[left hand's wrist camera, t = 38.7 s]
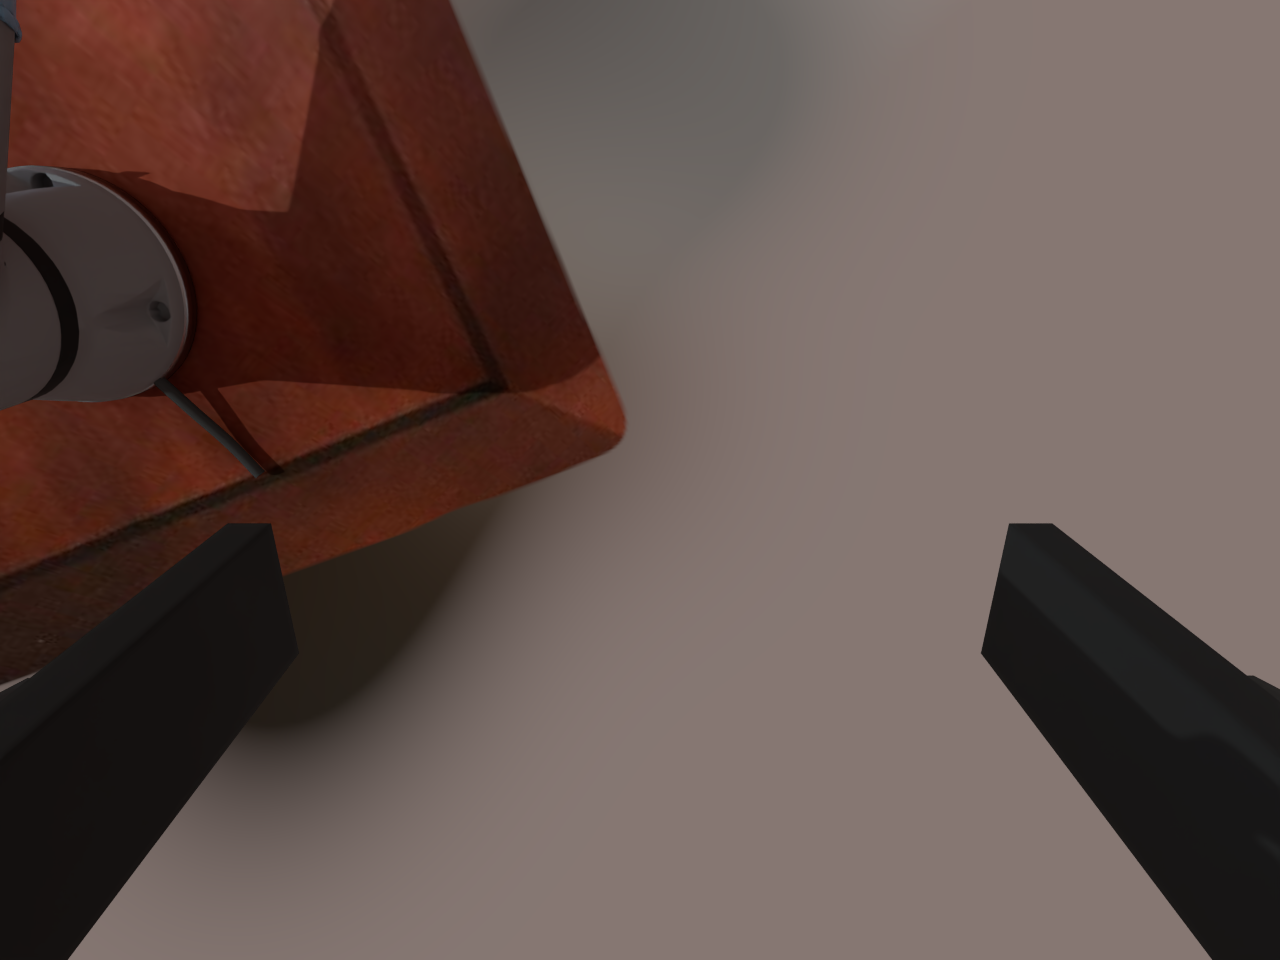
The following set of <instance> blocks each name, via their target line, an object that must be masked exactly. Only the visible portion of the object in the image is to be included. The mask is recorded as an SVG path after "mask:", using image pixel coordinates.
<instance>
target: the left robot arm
mask: <svg viewBox="0 0 1280 960" xmlns="http://www.w3.org/2000/svg"><path fill="white" fill-rule="evenodd" d="M21 38H22V32H21V28H20V25H19V23H18V21H17V19H16V0H0V410H3V409H6V408H9V407H11V406H14V405H17V404H20V403H23V402H26V401H29V400H32V399H34V400H57V401H79V402H103V401H111V400H117V399H123V398H127V397H130V396H133V395H136V394H139V393H141V392H144V391H146V390H149V389H151V388H154V387H156V386H157V387H158V388H159V389H160V390H161V391H162V392H163V393H165V394H166V395H167V396H168V397H169V398H170V399H171V400H172V401H173V402H175V403H176V404H177V405H178V406H179V407H180V408H181V409H182V410H184V411H185V412H186V413H187V414H188V415H189V416H190V417H191V418H193V419H194V420H195V421H196V422H197V423H198V424H200V425H201V426H202V427H203V428H204V429H205V430H207V431H208V432H209V433H210V434H211V435H213V436H214V437H215V438H216V439H217V440H218V441H219V442H220V443H221V444H223V445H224V446H225V447H226V448H227V449H228V450H229V451H230V452H231V453H232V454H233V455H234V456H235V457H236V458H237V459H238V460H239V461H240V462H241V463H242V464H243V465H244V466H245V467H246V468H247V470H248V471H249V472H250V473H251V474H252V475H253V476H254V477H255V478H256V477H258V476H259V475H260V474H262V473H263V472H264V470H263V469H262V468H261V467H260V466H259V465H258V463H257V462H256V461H255V460H254V459H253V458H252V457H251V456H250V455H249V454H248V453H247V452H246V451H245V450H244V449H243V448H242V447H241V446H240V445H239V444H238V443H237V442H236V441H235V440H234V439H233V438H232V437H231V436H230V435H229V434H228V433H226V432H225V431H224V430H223V429H222V428H221V427H220V426H219V425H217V424H216V423H215V422H214V421H213V420H212V419H210V418H209V417H208V416H207V415H206V414H205V413H204V412H202V411H201V410H200V409H199V408H198V407H197V406H196V405H195V404H193V403H192V402H191V401H190V400H189V399H188V398H187V397H186V396H185V395H183V394H182V393H181V392H180V391H179V390H178V389H177V388H176V387H175V386H174V385H172V384H171V383H170V382H169V381H168V380H167V379H168V378H169V377H170V376H171V375H173V374H174V373H175V372H176V371H177V369H178V368H179V367H180V366H181V364H182V363H183V361H184V360H185V358H186V357H187V355H188V353H189V351H190V348H191V346H192V343H193V340H194V335H195V331H196V323H197V305H196V296H195V291H194V286H193V283H192V279H191V276H190V273H189V271H188V268H187V265H186V263H185V261H184V259H183V257H182V255H181V253H180V251H179V249H178V248H177V246H176V244H175V242H174V241H173V240H172V238H171V237H170V235H169V234H168V232H167V231H166V230H165V229H164V227H163V226H162V225H161V224H160V222H159V221H158V220H157V219H156V218H155V217H154V216H153V215H152V214H151V213H150V212H149V211H148V210H147V209H146V208H145V207H144V206H143V205H141V204H140V203H139V202H138V201H137V200H135V199H134V198H133V197H131V196H130V195H129V194H127V193H126V192H124V191H123V190H121V189H120V188H118V187H116V186H114V185H113V184H111V183H109V182H107V181H105V180H103V179H101V178H98V177H96V176H94V175H91V174H88V173H85V172H82V171H78V170H74V169H68V168H62V167H49V166H18V167H13V168H7V162H8V145H9V127H10V110H11V92H12V75H13V57H14V42H15V43H19V42H20V41H21ZM298 654H299V651H298V647H297V642H296V637H295V633H294V628H293V623H292V619H291V614H290V610H289V605H288V600H287V596H286V591H285V586H284V582H283V577H282V573H281V568H280V563H279V559H278V554H277V550H276V545H275V540H274V536H273V531H272V526H271V524H227V525H225V526H224V527H223V528H221V529H220V530H219V531H218V532H216V533H215V534H214V535H212V536H211V537H210V538H209V539H207V540H206V541H205V542H203V543H202V544H201V545H200V546H198V547H197V548H196V549H195V550H193V551H192V552H191V553H189V554H188V555H187V556H186V557H184V558H183V559H182V560H180V561H179V562H178V563H177V564H175V565H174V566H173V567H172V568H170V569H169V570H168V571H166V572H165V573H164V574H163V575H161V576H160V577H159V578H157V579H156V580H155V581H154V582H152V583H151V584H150V585H148V586H147V587H146V588H145V589H143V590H142V591H141V592H140V593H138V594H137V595H136V596H134V597H133V598H132V599H131V600H129V601H128V602H127V603H125V604H124V605H123V606H122V607H120V608H119V609H118V610H116V611H115V612H114V613H113V614H111V615H110V616H109V617H108V618H106V619H105V620H104V621H102V622H101V623H100V624H99V625H97V626H96V627H95V628H93V629H92V630H91V631H90V632H88V633H87V634H86V635H85V636H83V637H82V638H81V639H79V640H78V641H77V642H76V643H74V644H73V645H72V646H70V647H69V648H68V649H67V650H65V651H64V652H63V653H61V654H60V655H59V656H58V657H56V658H55V659H54V660H53V661H51V662H50V663H49V664H47V665H46V666H45V667H44V668H42V669H41V670H40V671H38V672H37V673H36V674H35V675H33V676H32V677H31V678H27V679H25V680H23V681H21V682H19V683H17V684H15V685H13V686H11V687H9V688H8V689H6V690H4V691H2V692H0V960H68V959H69V957H70V956H71V955H72V953H73V952H74V951H75V949H76V948H77V947H78V945H79V944H80V943H81V941H82V940H83V939H84V937H85V936H86V935H87V933H88V932H89V931H90V929H91V928H92V927H93V925H94V924H95V923H96V922H97V920H98V919H99V918H100V916H101V915H102V914H103V912H104V911H105V910H106V908H107V907H108V906H109V904H110V903H111V902H112V900H113V899H114V898H115V896H116V895H117V894H118V892H119V891H120V890H121V888H122V887H123V886H124V884H125V883H126V882H127V880H128V879H129V878H130V876H131V875H132V874H133V872H134V871H135V870H136V868H137V867H138V866H139V865H140V863H141V862H142V861H143V859H144V858H145V857H146V855H147V854H148V853H149V851H150V850H151V849H152V847H153V846H154V845H155V843H156V842H157V841H158V839H159V838H160V837H161V835H162V834H163V833H164V831H165V830H166V829H167V827H168V826H169V825H170V823H171V822H172V821H173V820H174V818H175V817H176V815H177V814H178V813H179V811H180V810H181V809H182V808H183V806H184V805H185V804H186V802H187V801H188V800H189V798H190V797H191V796H192V794H193V793H194V792H195V790H196V789H197V788H198V786H199V785H200V784H201V782H202V781H203V780H204V778H205V777H206V776H207V774H208V773H209V772H210V770H211V769H212V768H213V766H214V765H215V764H216V763H217V761H218V760H219V758H220V757H221V756H222V755H223V753H224V752H225V751H226V749H227V748H228V747H229V745H230V744H231V743H232V741H233V740H234V739H235V737H236V736H237V735H238V733H239V732H240V731H241V729H242V728H243V727H244V725H245V724H246V723H247V721H248V720H249V719H250V717H251V716H252V715H253V713H254V712H255V711H256V710H257V708H258V707H259V705H260V704H261V703H262V702H263V700H264V699H265V698H266V696H267V695H268V694H269V692H270V691H271V690H272V688H273V687H274V686H275V684H276V683H277V682H278V680H279V679H280V678H281V676H282V675H283V674H284V672H285V671H286V670H287V668H288V667H289V666H290V664H291V663H292V662H293V660H294V659H295V658H296V657H297V655H298ZM981 654H982V655H983V657H984V658H985V659H986V660H987V662H988V663H989V664H990V666H991V667H992V668H993V670H994V671H995V672H996V674H997V675H998V676H999V678H1000V679H1001V680H1002V682H1003V683H1004V684H1005V686H1006V687H1007V688H1008V690H1009V691H1010V692H1011V694H1012V695H1013V696H1014V697H1015V699H1016V700H1017V702H1018V703H1019V704H1020V706H1021V707H1022V708H1023V709H1024V711H1025V712H1026V713H1027V715H1028V716H1029V717H1030V719H1031V720H1032V721H1033V723H1034V724H1035V725H1036V727H1037V728H1038V729H1039V731H1040V732H1041V733H1042V735H1043V736H1044V737H1045V739H1046V740H1047V741H1048V743H1049V744H1050V745H1051V747H1052V748H1053V749H1054V751H1055V752H1056V753H1057V755H1058V756H1059V757H1060V758H1061V760H1062V761H1063V763H1064V764H1065V765H1066V766H1067V768H1068V769H1069V770H1070V772H1071V773H1072V774H1073V776H1074V777H1075V778H1076V780H1077V781H1078V782H1079V784H1080V785H1081V786H1082V788H1083V789H1084V790H1085V792H1086V793H1087V794H1088V796H1089V797H1090V798H1091V800H1092V801H1093V802H1094V804H1095V805H1096V806H1097V808H1098V809H1099V810H1100V812H1101V813H1102V814H1103V816H1104V817H1105V818H1106V820H1107V821H1108V822H1109V823H1110V825H1111V826H1112V827H1113V829H1114V830H1115V831H1116V833H1117V834H1118V835H1119V837H1120V838H1121V839H1122V841H1123V842H1124V843H1125V845H1126V846H1127V847H1128V849H1129V850H1130V851H1131V853H1132V854H1133V855H1134V857H1135V858H1136V859H1137V861H1138V862H1139V863H1140V865H1141V866H1142V867H1143V869H1144V870H1145V871H1146V873H1147V874H1148V875H1149V877H1150V878H1151V879H1152V880H1153V882H1154V883H1155V884H1156V886H1157V887H1158V888H1159V890H1160V891H1161V892H1162V894H1163V895H1164V896H1165V898H1166V899H1167V900H1168V902H1169V903H1170V904H1171V906H1172V907H1173V908H1174V910H1175V911H1176V912H1177V914H1178V915H1179V916H1180V918H1181V919H1182V920H1183V922H1184V923H1185V924H1186V925H1187V927H1188V928H1189V930H1190V931H1191V932H1192V933H1193V935H1194V936H1195V937H1196V939H1197V940H1198V941H1199V943H1200V944H1201V945H1202V947H1203V948H1204V949H1205V951H1206V952H1207V953H1208V955H1209V956H1210V957H1211V959H1212V960H1280V689H1278V688H1276V687H1274V686H1273V685H1271V684H1269V683H1267V682H1265V681H1263V680H1261V679H1259V678H1257V677H1255V676H1247V675H1245V674H1244V673H1243V672H1241V671H1240V670H1239V669H1238V668H1236V667H1235V666H1234V665H1233V664H1231V663H1230V662H1229V661H1227V660H1226V659H1225V658H1224V657H1222V656H1221V655H1220V654H1218V653H1217V652H1216V651H1215V650H1213V649H1212V648H1211V647H1209V646H1208V645H1207V644H1206V643H1204V642H1203V641H1202V640H1201V639H1199V638H1198V637H1197V636H1195V635H1194V634H1193V633H1192V632H1190V631H1189V630H1188V629H1187V628H1185V627H1184V626H1183V625H1181V624H1180V623H1179V622H1178V621H1176V620H1175V619H1174V618H1172V617H1171V616H1170V615H1169V614H1167V613H1166V612H1165V611H1163V610H1162V609H1161V608H1159V607H1158V606H1157V605H1156V604H1155V603H1153V602H1152V601H1151V600H1149V599H1148V598H1147V597H1146V596H1144V595H1143V594H1142V593H1140V592H1139V591H1138V590H1137V589H1135V588H1134V587H1133V586H1132V585H1130V584H1129V583H1128V582H1126V581H1125V580H1124V579H1123V578H1121V577H1120V576H1119V575H1117V574H1116V573H1115V572H1114V571H1112V570H1111V569H1110V568H1108V567H1107V566H1106V565H1105V564H1103V563H1102V562H1101V561H1099V560H1098V559H1097V558H1096V557H1094V556H1093V555H1092V554H1091V553H1089V552H1088V551H1087V550H1085V549H1084V548H1083V547H1082V546H1080V545H1079V544H1078V543H1077V542H1075V541H1074V540H1073V539H1071V538H1070V537H1069V536H1067V535H1066V534H1065V533H1064V532H1062V531H1061V530H1060V529H1059V528H1057V527H1056V526H1055V525H1053V524H1009V526H1008V531H1007V536H1006V540H1005V545H1004V550H1003V554H1002V559H1001V563H1000V568H999V573H998V577H997V582H996V586H995V591H994V596H993V600H992V605H991V610H990V614H989V619H988V624H987V628H986V633H985V637H984V642H983V647H982V651H981Z"/></svg>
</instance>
